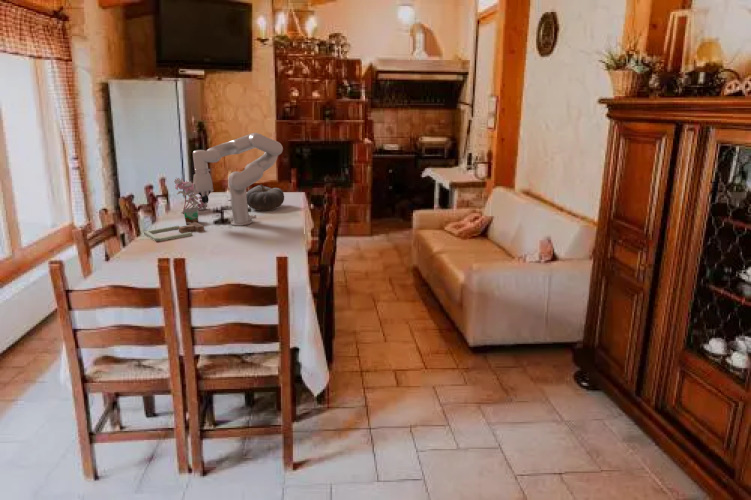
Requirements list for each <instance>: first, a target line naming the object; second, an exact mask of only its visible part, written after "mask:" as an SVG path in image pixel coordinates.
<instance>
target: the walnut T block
mask: <svg viewBox="0 0 751 500" xmlns="http://www.w3.org/2000/svg"><path fill="white" fill-rule="evenodd" d="M177 230H178V233H179V234H183V233H188V232H195V233H196V232H197V233H202V232H205V226H204V225H203V224H200V223H199V222H198V223H196V222H193V223H189V225H182V226H179V227H178V229H177Z"/></svg>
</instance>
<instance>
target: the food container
mask: <svg viewBox="0 0 751 500" xmlns="http://www.w3.org/2000/svg"><path fill="white" fill-rule="evenodd" d="M187 208H188V207H187ZM199 208H200V207H198V206H197V204H196V205H192V206H191V207H189V208H188V209H183V213H182V214H183V215H184V220H185V224H186V225H185V226H187V225H189V223H193V222H196V223H198V224H199V210H200V209H199Z"/></svg>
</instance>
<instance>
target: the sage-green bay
mask: <svg viewBox="0 0 751 500" xmlns="http://www.w3.org/2000/svg"><path fill="white" fill-rule="evenodd" d="M178 227H180V225H178V224H177V225H173V226H167V227H161V228H155V229H154V228H153V229H149V230H144V231H143V234H144V235H145V234H146V235H147V236H146V235H145V236H146V237H148V236H149V237H151V238H152V239H154V240H155V241H160V242H164V241H163V240H165V241H169V240H168V239H171V240H175V238H176V239H181V238H185V237H186V236H187V237H190V236H193V231H191V232H185V233H178V234H173V235H172V234H171V235H167V236H163V237H158V236H156V235H154V234H157V233H156V232H158V233H163V232H169V231H173V230H174V231H175V230H179V229H178ZM151 233H152V234H151ZM149 237H148V238H149ZM180 237H181V238H180ZM151 238H150V239H151ZM152 239H151V240H152ZM154 240H153V241H154ZM155 241H154V242H155Z"/></svg>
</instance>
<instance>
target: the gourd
mask: <svg viewBox="0 0 751 500" xmlns="http://www.w3.org/2000/svg"><path fill="white" fill-rule="evenodd" d="M246 193H247V204H248V207H249V208H251V209H253V210H256V211H260V212H261V211H263V212H265V211H268V212H269V211H273V210H275V209H277V208H279V207H280V206H281V205H283V204H284V202H285V194H284V191H283V190H282V189H281V188H279V187H273V188H271V187H268V186H264V185H263V184H260V185H256V186H254V187H252V188H250V189H249V190H248V191H246Z"/></svg>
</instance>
